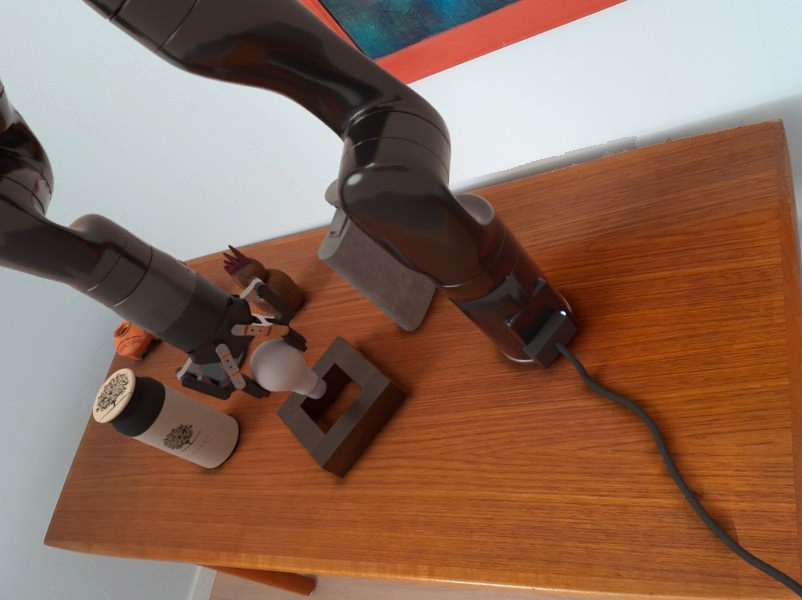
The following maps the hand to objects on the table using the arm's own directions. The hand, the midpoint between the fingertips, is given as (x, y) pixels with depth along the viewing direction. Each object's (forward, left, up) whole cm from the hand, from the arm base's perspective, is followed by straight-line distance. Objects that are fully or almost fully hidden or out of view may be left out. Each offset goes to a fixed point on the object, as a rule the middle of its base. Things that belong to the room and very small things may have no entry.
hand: (285, 369), depth 78 cm
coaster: (+30, +9, -12) cm, 34 cm away
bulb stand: (0, 0, -12) cm, 12 cm away
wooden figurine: (+25, -5, -13) cm, 29 cm away
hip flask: (+4, -20, -13) cm, 24 cm away
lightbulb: (0, 0, -7) cm, 7 cm away
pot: (+52, +18, -13) cm, 57 cm away
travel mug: (+17, +17, -13) cm, 27 cm away
